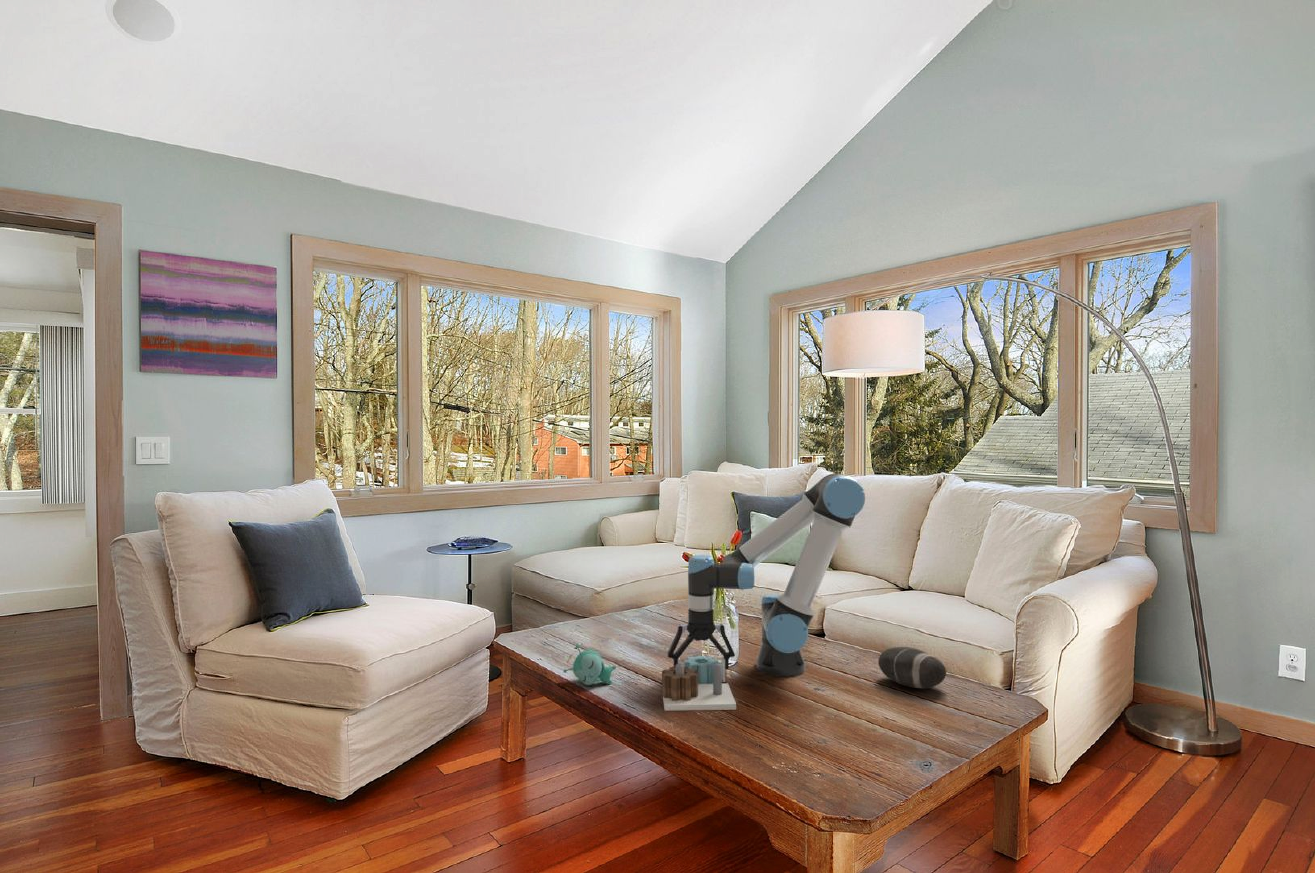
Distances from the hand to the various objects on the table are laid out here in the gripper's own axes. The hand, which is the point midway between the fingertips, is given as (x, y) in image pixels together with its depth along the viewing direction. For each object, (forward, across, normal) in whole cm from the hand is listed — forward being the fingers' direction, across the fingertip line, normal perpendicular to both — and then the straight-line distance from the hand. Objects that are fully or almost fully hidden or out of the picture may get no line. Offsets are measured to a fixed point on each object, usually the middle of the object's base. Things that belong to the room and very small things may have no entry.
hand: (701, 680), depth 204 cm
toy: (-2, +26, 0) cm, 26 cm away
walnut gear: (-1, +7, +14) cm, 16 cm away
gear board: (0, +2, +14) cm, 14 cm away
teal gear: (0, 0, 0) cm, 0 cm away
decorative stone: (0, -61, +6) cm, 61 cm away
